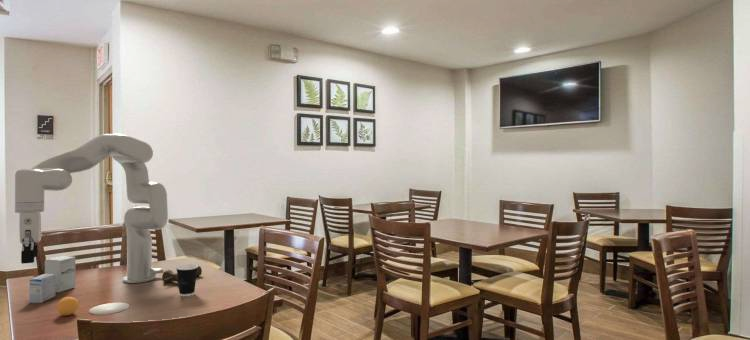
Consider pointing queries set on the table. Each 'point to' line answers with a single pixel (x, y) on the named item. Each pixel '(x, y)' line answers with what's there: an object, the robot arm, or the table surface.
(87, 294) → the table surface
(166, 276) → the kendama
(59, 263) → the supplement box
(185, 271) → the dixie cup
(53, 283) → the medicine box
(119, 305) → the disc
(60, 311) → the ball
